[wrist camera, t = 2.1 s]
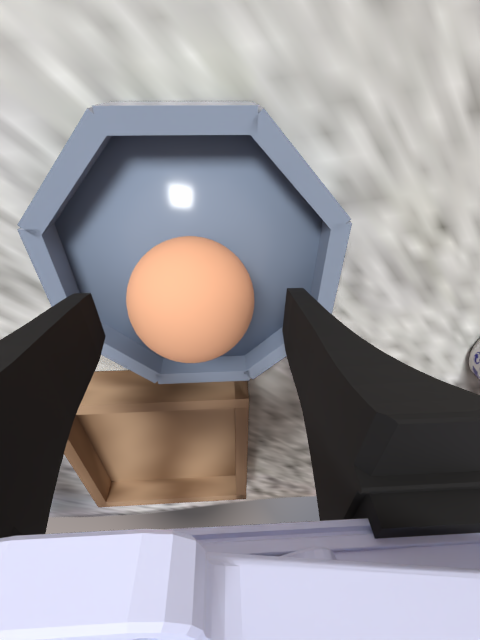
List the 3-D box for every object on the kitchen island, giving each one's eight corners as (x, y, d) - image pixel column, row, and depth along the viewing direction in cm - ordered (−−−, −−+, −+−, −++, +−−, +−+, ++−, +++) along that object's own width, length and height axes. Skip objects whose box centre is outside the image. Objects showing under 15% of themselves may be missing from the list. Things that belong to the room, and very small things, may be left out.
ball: (150, 314, 16) (128, 392, 12) (129, 217, 13) (90, 279, 9) (248, 312, 16) (258, 387, 12) (250, 215, 13) (264, 275, 9)
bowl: (99, 358, 19) (87, 387, 17) (1, 101, 11) (-39, 106, 9) (308, 351, 20) (317, 377, 18) (354, 101, 12) (378, 104, 10)
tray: (107, 475, 27) (98, 507, 25) (53, 373, 20) (34, 407, 17) (244, 468, 28) (246, 498, 26) (246, 365, 20) (249, 398, 18)
